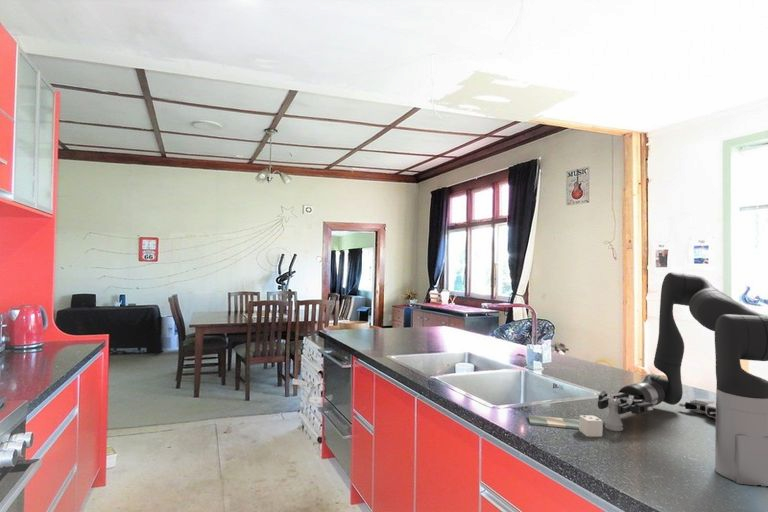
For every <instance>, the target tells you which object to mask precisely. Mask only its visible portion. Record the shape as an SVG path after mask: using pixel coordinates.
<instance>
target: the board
mask: <svg viewBox="0 0 768 512" xmlns="http://www.w3.org/2000/svg"><path fill="white" fill-rule="evenodd" d="M527 419H528V421H529V424H530V425H531V426H532V425H535V426H545V427H554V428H555V427H556V428H565V429H576V430H579V419H575V418H566V417H565V418H563V417H553V416H542V415H529V414H527ZM603 430H604V428H602V432H604V431H603Z"/></svg>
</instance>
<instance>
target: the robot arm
mask: <svg viewBox="0 0 768 512" xmlns="http://www.w3.org/2000/svg"><path fill="white" fill-rule="evenodd" d="M659 302H660V303H659V319H658V338H657V345H656V349H655V354H654V360H653V366H654V367H655V368H656V369H657V370H658V371H660V372H661V373H663V374H664V375H665V376H666V377H663V376H661V375H659V374H654V373H649V374H646V376H645V377H644V379H643V380H642V382H635V383H632V384H629V385H625V386H623V387H622V388H620V389H619V391H618V392H617V393H612V394H608V393H607V391H605V390H604V391H603V390H602V391H601V392H600V393H599V394H598V397H597V398H598V400H597V407H598V409H600V410H604V409H607V408H609V405H610V404H609V402H608V400H609V397H614V399H615V397H616V398H617V400H618V398H619V399H620V402H621V404H620V405H618V414H620V415H624V414H632V415H633V414H634V415H639V416H641V415H646V414H652V413H653V412H654V411H653V410H654V407H655V406H657V405H659V404H662V403H665V404H667V405H671V406H674V405H677V404H679V403H680V402H681V399H682V398H683V394H684V393H683V392H684V390H683V384H682V383H683V382H682V373H681V371H682V369H681V368H682V363H683V358H684V353H685V342H684V338H683V336H682V334H681V331H680V330H679V328H678V326H677V323H676V321H675V318H674V305H679V306H686V307H688V309H689V312H690V314H691V316H692V317H693V318H694V320H696V321H697V322H698V323H699V324H700V325H701V326H702V327H704V328H705V329H708V330H710V331H712V332H714V350H715V351H714V355H715V379H716V393H715V396H716V397H715V403H716V419H715V432H714V433H715V438H714V441H715V442H714V443H715V444H714V454H715V455H714V470H715V472H716V473H717V474H719V475H721V476H722V477H724V478H726V479H729V480H731V481H733V482H736V484H738V485H739V484H741V485H749V486H757V485H761V486H760V487H766V486H768V380H767V379H765V378H762V377H760V376H756V375H754V374H752V373H750V372H748V371H746V370H745V369H744V368H742V366H741V365H742V364H741V360H743V361H753V362H754V361H755V362H756V361H758V362H768V315H765V314H762V313H760V312H757V311H754V310H752V309H750V308H748V307H746V306H745V305H743V304H742V303H740V302H738V301H736V300H735V299H733V298H732V297H730V296H729V295H727V294H726V293H724V292H723V291H720V290H719V289H718V288H715V286H713V284H712V283H711V282H709V280H707V279H706V278H705V277H703V276H701V275H696V274H690V273H681V272H672V271H671V272H668V273H667V274H665V276H664V278H663V280H662V284H661V290H660V299H659Z"/></svg>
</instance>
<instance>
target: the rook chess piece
mask: <svg viewBox="0 0 768 512" xmlns="http://www.w3.org/2000/svg"><path fill="white" fill-rule="evenodd" d="M608 402H609V404H610V405H609V407H608V410H609V411H608V415H607V417H606V420H605V421H604V423H605V424H604V427H605V429H606V430H608V431H612V432H622V431H623V430H624V427H623V426H624V423H623V421H622V419H621V414H618V405H620V404H621V402H620V399H619V398H618V400H617V398H616V397H615V399H614V397H609V400H608Z"/></svg>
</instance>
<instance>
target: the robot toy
mask: <svg viewBox="0 0 768 512" xmlns="http://www.w3.org/2000/svg"><path fill="white" fill-rule="evenodd" d="M689 401H690V402H688V401H687V402H685V403H683V402H679V403H678V406H679V407H682V408H683V407H685V409H686V410H689V411H690V410H691V411H694V412H695V413H697V414H699V413H700V415H701V414H705V415H706V416H708V417H710V418H714V420H716V401H713V400H710V399H705V398H695V399H693V400H692V399H690V400H689Z"/></svg>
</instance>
